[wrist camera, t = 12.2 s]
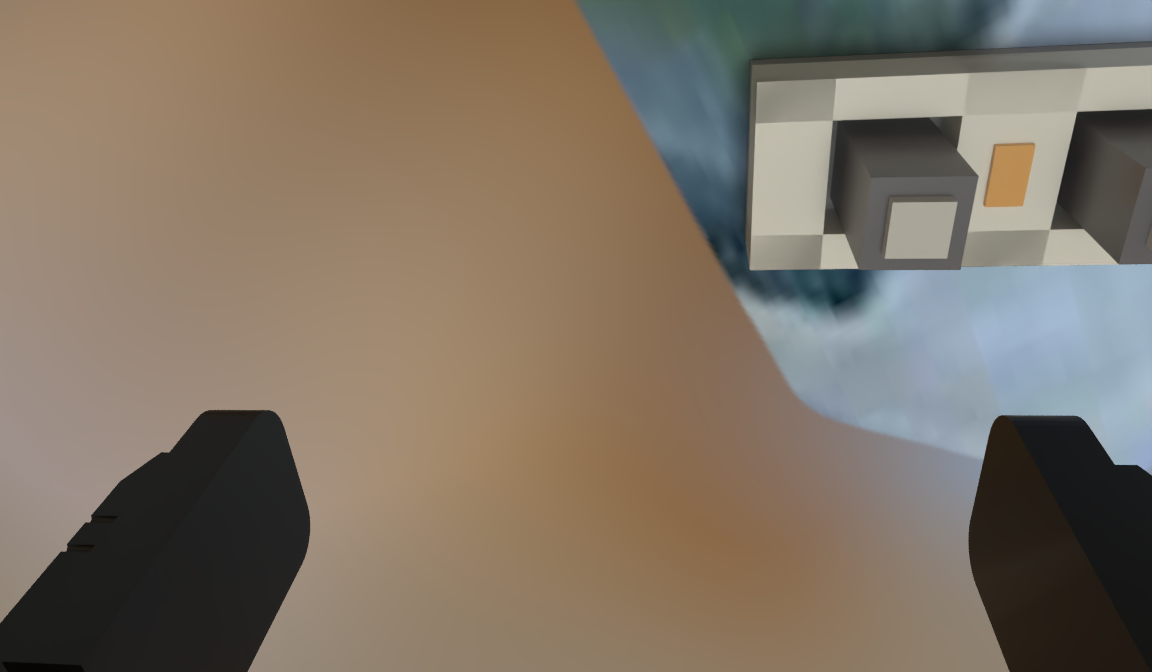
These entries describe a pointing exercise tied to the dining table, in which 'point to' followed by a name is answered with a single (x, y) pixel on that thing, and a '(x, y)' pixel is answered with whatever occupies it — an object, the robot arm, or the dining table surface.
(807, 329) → the dining table surface
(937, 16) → the dining table surface
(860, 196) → the plug
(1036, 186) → the strip
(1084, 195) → the twin plug
